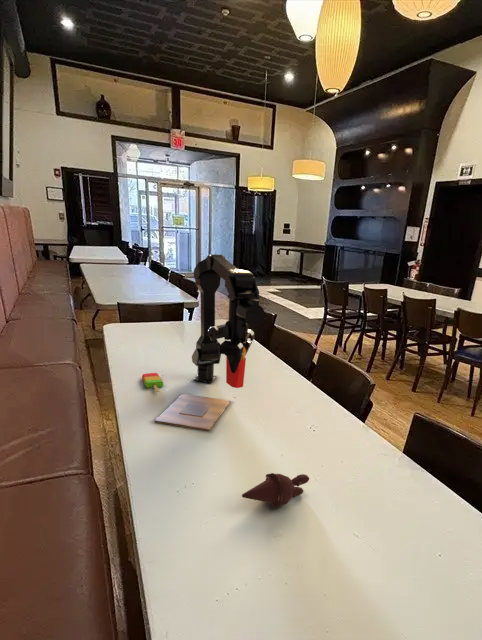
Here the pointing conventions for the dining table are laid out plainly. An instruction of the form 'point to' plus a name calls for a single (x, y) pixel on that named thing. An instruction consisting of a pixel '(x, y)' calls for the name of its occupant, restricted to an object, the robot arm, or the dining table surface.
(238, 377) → the french fries
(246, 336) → the robot arm
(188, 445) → the dining table surface
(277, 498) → the icecream
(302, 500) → the dining table surface
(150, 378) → the popsicle
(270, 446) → the dining table surface
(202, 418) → the placemat
